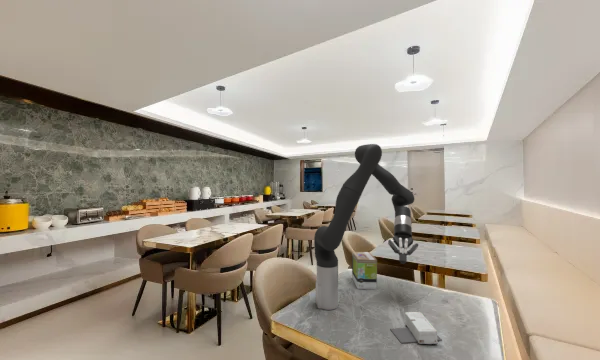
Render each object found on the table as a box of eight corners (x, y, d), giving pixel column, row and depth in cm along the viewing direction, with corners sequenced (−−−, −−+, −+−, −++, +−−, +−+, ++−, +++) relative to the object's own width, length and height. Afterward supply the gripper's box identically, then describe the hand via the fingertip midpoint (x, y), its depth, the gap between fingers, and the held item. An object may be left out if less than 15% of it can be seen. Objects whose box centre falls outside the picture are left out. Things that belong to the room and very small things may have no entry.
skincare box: (420, 311, 94) (438, 329, 82) (421, 324, 94) (438, 344, 82) (404, 312, 94) (418, 330, 82) (404, 324, 94) (419, 344, 82)
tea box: (377, 289, 126) (377, 259, 126) (357, 289, 126) (356, 259, 126) (369, 278, 141) (369, 251, 141) (351, 278, 141) (351, 251, 141)
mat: (401, 343, 83) (401, 342, 83) (390, 329, 91) (390, 328, 91) (441, 340, 84) (441, 339, 84) (427, 327, 92) (427, 326, 92)
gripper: (388, 221, 118) (387, 256, 107) (419, 224, 114) (421, 261, 103) (387, 229, 123) (385, 264, 112) (417, 233, 119) (418, 269, 109)
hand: (403, 262), depth 108 cm, fingers closed
